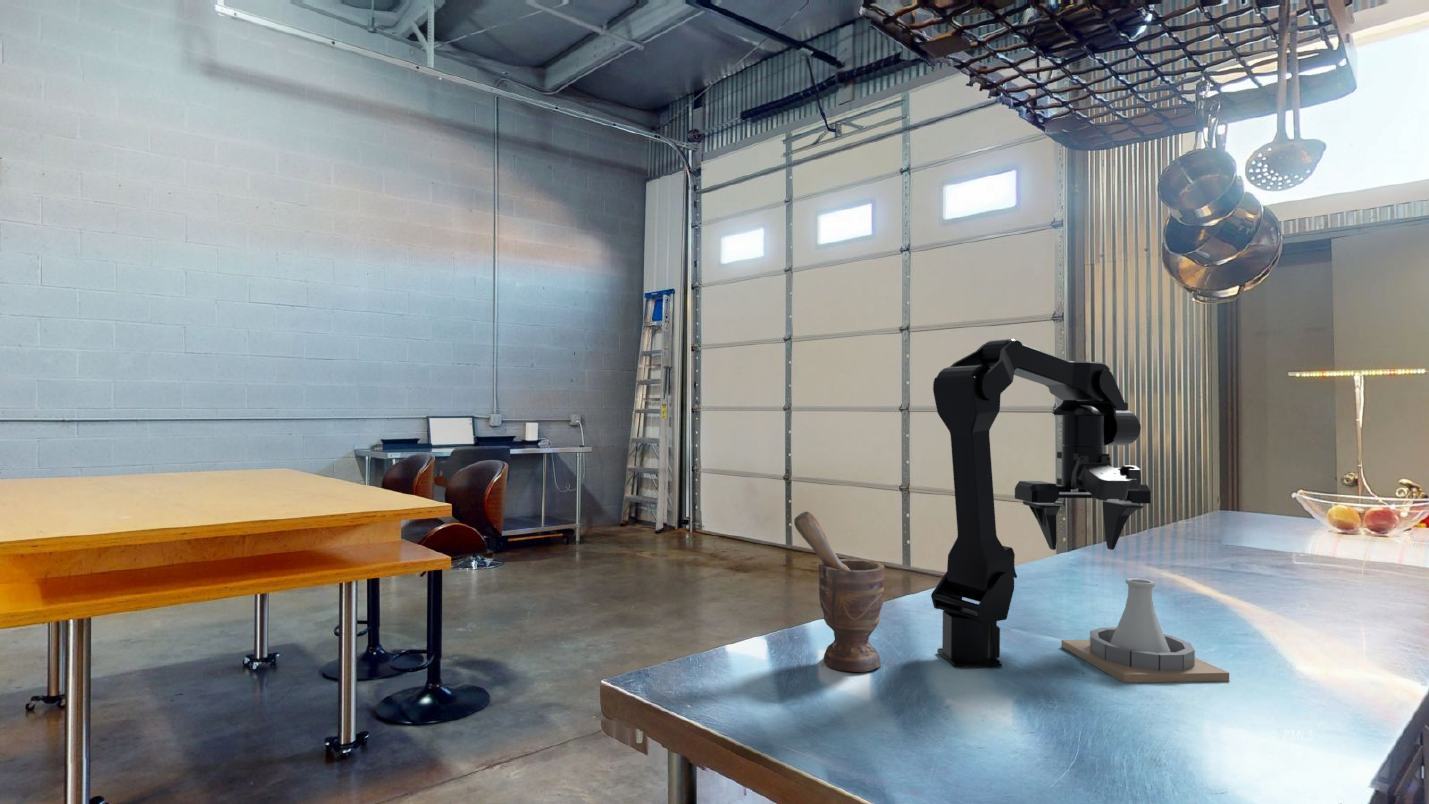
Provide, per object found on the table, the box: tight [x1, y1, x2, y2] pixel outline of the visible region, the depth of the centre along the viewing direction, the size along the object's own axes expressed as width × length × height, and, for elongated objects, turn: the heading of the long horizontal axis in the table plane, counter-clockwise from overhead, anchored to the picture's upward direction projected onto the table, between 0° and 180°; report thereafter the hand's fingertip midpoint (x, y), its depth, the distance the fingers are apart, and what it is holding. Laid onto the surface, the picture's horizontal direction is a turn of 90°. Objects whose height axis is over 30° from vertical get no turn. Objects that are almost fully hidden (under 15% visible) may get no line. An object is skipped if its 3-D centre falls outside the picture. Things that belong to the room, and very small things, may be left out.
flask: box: [1110, 578, 1170, 653], centre depth 99 cm, size 7×7×10 cm
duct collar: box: [1060, 626, 1230, 684], centre depth 99 cm, size 14×14×3 cm
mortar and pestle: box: [793, 511, 886, 673], centre depth 97 cm, size 12×9×20 cm
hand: (1081, 549), depth 111 cm, fingers open, 9 cm apart
